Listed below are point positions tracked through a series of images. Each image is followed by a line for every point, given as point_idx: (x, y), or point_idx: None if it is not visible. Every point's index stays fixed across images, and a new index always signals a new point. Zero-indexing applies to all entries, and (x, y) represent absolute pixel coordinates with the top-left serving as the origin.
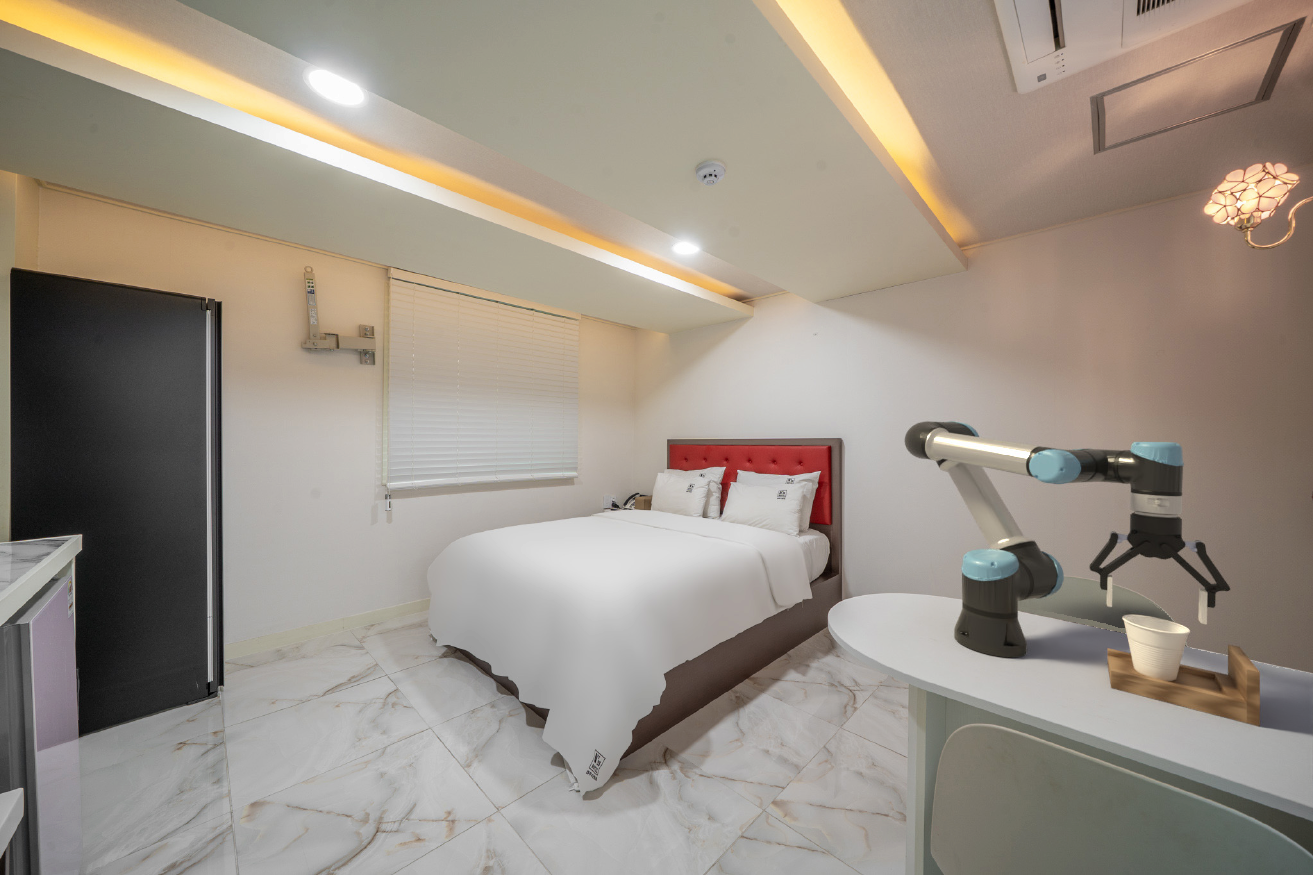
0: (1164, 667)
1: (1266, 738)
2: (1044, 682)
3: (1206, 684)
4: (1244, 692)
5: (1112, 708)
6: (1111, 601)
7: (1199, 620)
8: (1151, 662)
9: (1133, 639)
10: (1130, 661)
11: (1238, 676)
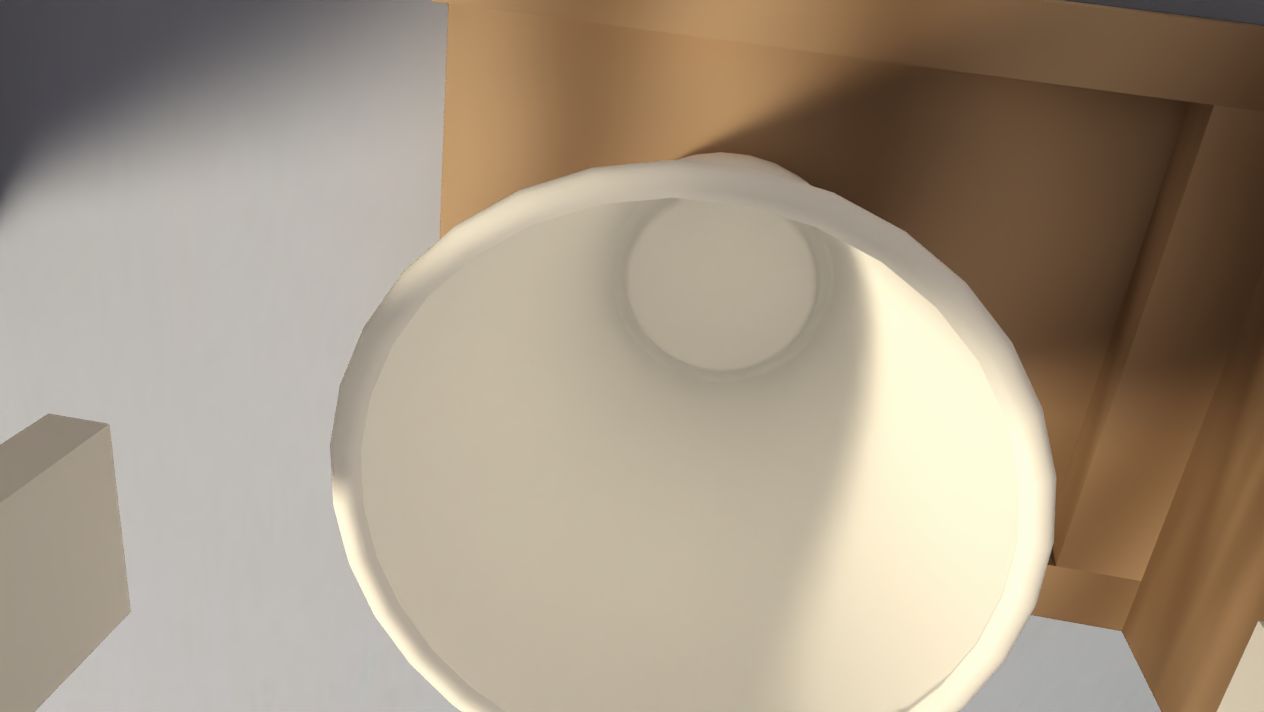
0: (738, 470)
1: (1082, 682)
2: (141, 560)
3: (1053, 269)
4: (1161, 616)
5: (438, 702)
6: (59, 675)
7: (1228, 699)
8: (652, 474)
9: (496, 499)
10: (606, 49)
11: (1254, 490)
